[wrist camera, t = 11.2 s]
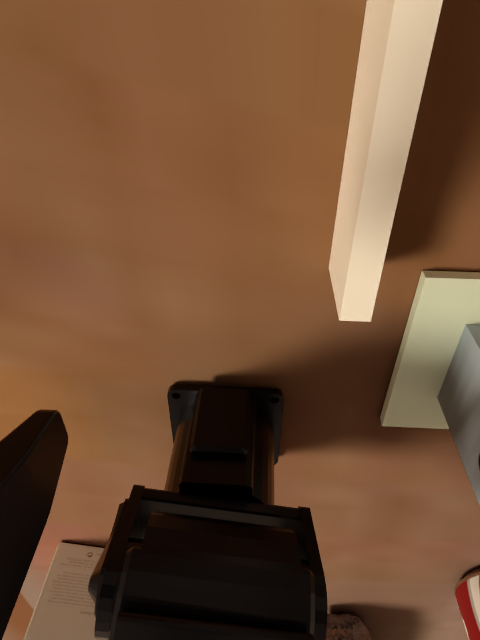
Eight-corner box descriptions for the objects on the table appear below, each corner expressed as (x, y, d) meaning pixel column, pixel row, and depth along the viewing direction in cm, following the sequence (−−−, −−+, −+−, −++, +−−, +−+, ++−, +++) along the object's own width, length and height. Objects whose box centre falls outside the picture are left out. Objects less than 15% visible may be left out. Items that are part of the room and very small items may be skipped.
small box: (59, 538, 38) (-2, 700, 29) (127, 548, 38) (86, 711, 30) (62, 581, 42) (11, 730, 34) (122, 589, 43) (87, 739, 35)
